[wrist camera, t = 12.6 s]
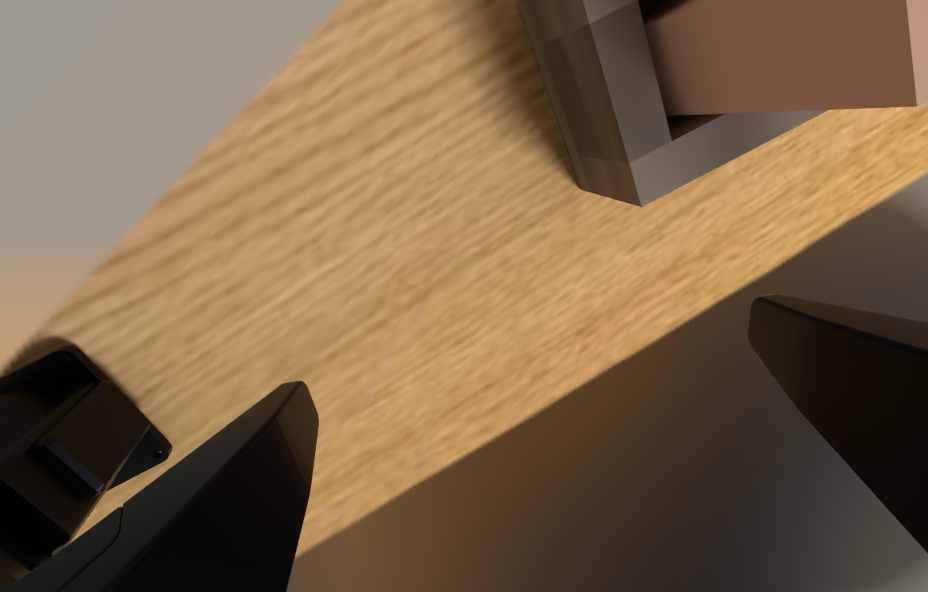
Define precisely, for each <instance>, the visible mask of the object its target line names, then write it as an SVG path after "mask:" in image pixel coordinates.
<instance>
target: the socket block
mask: <svg viewBox="0 0 928 592" xmlns="http://www.w3.org/2000/svg"><path fill="white" fill-rule="evenodd" d="M665 1H666V0H523V1H522V2H521V3H520V4H518V6H519V9H520V12H521V14H522V17H523V20H524V23H525V26H526V29H527V32H528V35H529V38H530V41H531V44H532V47H533V50H534V53H535V56H536V59H537V62H538V65H539V68H540V71H541V74H542V76H543V79H544V82H545V85H546V88H547V91H548V94H549V97H550V100H551V103H552V106H553V109H554V112H555V115H556V118H557V121H558V124H559V127H560V130H561V133H562V136H563V138H564V141H565V144H566V147H567V150H568V153H569V156H570V159H571V162H572V165H573V168H574V171H575V174H576V177H577V180H578V183H579V186H580V189H581V190H584V191H587V192H591V193H594V194H598V195H602V196H605V197H609V198H612V199H616V200H619V201H623V202H626V203H630V204H633V205H637V206H640V207H642V206H644V205H646V204H648V203H650V202H652V201H654V200H656V199H658V198H660V197H662V196H664V195H666V194H668V193H669V192H671V191H673V190H675V189H677V188H679V187H681V186H683V185H685V184H687V183H689V182H691V181H693V180H695V179H696V178H698V177H700V176H702V175H704V174H706V173H708V172H710V171H712V170H714V169H716V168H718V167H720V166H722V165H724V164H725V163H727V162H729V161H731V160H733V159H735V158H737V157H739V156H741V155H743V154H745V153H747V152H749V151H751V150H752V149H754V148H756V147H758V146H760V145H762V144H764V143H766V142H768V141H770V140H772V139H774V138H776V137H778V136H779V135H781V134H783V133H785V132H787V131H789V130H791V129H793V128H795V127H797V126H799V125H801V124H803V123H805V122H807V121H808V120H810V119H812V118H814V117H816V116H818V115H820V114H822V113H824V112H826V111H828V110H807V111H781V112H754V113H727V114H701V115H674V116H666V115H665V111H664V107H663V103H662V99H661V94H660V90H659V86H658V82H657V78H656V74H655V70H654V65H653V61H652V57H651V53H650V49H649V45H648V40H647V36H646V32H645V28H644V24H643V20H642V16H643V15H644V14H646V13H647V12H649V11H651V10H652V9H654V8H655V7H657V6H658V5H660V4H662V3H663V2H665Z"/></svg>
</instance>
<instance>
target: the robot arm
mask: <svg viewBox="0 0 928 592" xmlns="http://www.w3.org/2000/svg"><path fill="white" fill-rule="evenodd" d="M747 334H748V340H749V343H750V345H751V347H752V348H753V349H754V351H755V352H756V354H757V355H758V357H759V358H760V359H761V360H762V362H763V363H764V365H765V366H766V368H767V369H768V370H769V372H770V373H771V374H772V376H773V377H774V378H775V380H776V381H777V382H778V384H779V385H780V387H781V388H782V389H783V391H784V392H785V393H786V395H787V396H788V397H789V399H790V400H791V401H792V403H793V404H794V405H795V406H796V408H797V409H798V410H799V411H800V412H801V413H802V415H803V416H804V417H805V418H806V419H807V420H808V421H809V422H810V424H811V425H812V426H813V427H814V428H815V429H816V430H817V431H818V432H819V433H820V435H821V436H822V437H823V438H824V439H825V440H826V441H827V442H828V444H829V445H830V446H831V447H832V448H833V449H834V450H835V451H836V452H837V453H838V455H839V456H840V457H841V458H842V459H843V460H844V461H845V462H846V463H847V465H848V466H849V467H850V468H851V469H852V470H853V471H854V472H855V473H856V474H857V476H858V477H859V478H860V479H861V480H862V481H863V482H864V483H865V484H866V485H867V487H868V488H869V489H870V490H871V491H872V492H873V493H874V494H875V496H876V497H877V498H878V499H879V500H880V501H881V502H882V503H883V504H884V506H885V507H886V508H887V509H888V510H889V511H890V512H891V513H892V514H893V516H894V517H895V518H896V519H897V520H898V521H899V522H900V523H901V524H902V526H903V527H904V528H905V529H906V530H907V531H908V532H909V533H910V534H911V535H912V537H913V538H914V539H915V540H916V541H917V542H918V543H919V544H920V545H921V546H922V548H923V549H924V550H925V551H926V552H927V553H928V322H924V321H918V320H913V319H908V318H903V317H897V316H891V315H887V314H881V313H875V312H871V311H866V310H860V309H855V308H850V307H845V306H839V305H834V304H828V303H823V302H818V301H813V300H807V299H803V298H797V297H792V296H786V295H782V294H770V295H764V296H759V297H756V298H754V299H753V300H752V302H751V305H750V314H749V323H748V332H747ZM63 356H67V357H69V358H70V359H71V361H72V362H67V361H66V360H64V358H63ZM318 427H319V418H318V413H317V410H316V408H315V405H314V403H313V400H312V397H311V395H310V392H309V390H308V387H307V385H306V384H305V383H304V382H303V381H295V382H289V383H284V384H282V385H280V386H279V387H277V388H276V389H275V390H273V391H272V392H271V393H269V394H268V395H267V396H266V397H264V398H263V399H262V400H260V401H259V402H258V403H256V404H255V405H254V406H252V407H251V408H250V409H248V410H247V411H246V412H244V413H243V414H242V415H240V416H239V417H238V418H236V419H235V420H234V421H232V422H231V423H230V424H228V425H227V426H226V427H224V428H223V429H222V430H220V431H219V432H218V433H216V434H215V435H214V436H213V437H211V438H210V439H209V440H207V441H206V442H205V443H203V444H202V445H201V446H199V447H198V448H197V449H195V450H194V451H193V452H191V453H190V454H189V455H187V456H186V457H185V458H183V459H182V460H181V461H179V462H178V463H177V464H175V465H174V466H173V467H171V468H170V469H169V470H167V471H166V472H165V473H163V474H162V475H161V476H160V477H158V478H157V479H156V480H154V481H153V482H152V483H150V484H149V485H148V486H146V487H145V488H144V489H142V490H141V491H140V492H138V493H137V494H136V495H134V496H133V497H132V498H130V499H129V500H128V501H126V502H125V503H124V504H123V507H118V508H117V509H116V510H114V511H113V512H112V513H110V514H109V515H108V516H106V517H105V518H104V519H102V520H101V521H100V522H98V523H97V524H96V525H94V526H93V527H92V528H90V529H89V530H88V531H86V532H85V533H83V534H82V535H81V536H79V537H78V538H77V539H75V540H74V541H73V542H71V541H72V539H73V538H74V536H75V535H76V534H77V532H78V531H79V529H80V528H81V526H82V525H83V524H84V522H85V521H86V519H87V518H88V516H89V515H90V514H91V512H92V511H93V509H94V508H95V506H96V505H97V504H98V502H99V501H100V499H101V498H102V496H103V495H104V494H105V492H106V491H108V490H110V489H112V488H114V487H116V486H118V485H120V484H122V483H123V482H125V481H127V480H129V479H131V478H133V477H135V476H137V475H139V474H141V473H143V472H145V471H147V470H149V469H150V468H152V467H154V466H156V465H158V464H160V463H162V462H164V461H165V460H167V459H168V457H169V455H170V453H171V451H172V446H171V444H170V443H169V442H168V441H167V440H166V438H165V437H164V436H163V435H162V434H161V433H160V432H159V431H158V430H157V429H156V428H155V427H154V426H153V425H152V424H151V423H150V421H149V420H148V419H147V418H146V417H145V416H144V415H143V414H142V413H141V412H140V411H139V410H138V408H137V407H136V406H135V405H134V404H133V403H132V402H131V401H130V400H129V399H128V398H127V397H126V396H125V395H124V394H123V393H122V392H121V391H120V390H119V389H118V388H117V387H116V386H115V385H114V384H113V383H112V382H110V380H109V379H108V378H107V377H106V376H105V375H104V374H103V373H102V372H101V371H100V370H99V369H98V368H97V367H96V366H95V365H94V364H93V363H92V362H91V361H90V360H89V359H88V358H87V357H86V356H85V355H84V354H83V353H82V351H80V350H79V349H78V348H76V347H73V346H64V347H60V348H58V349H56V350H54V351H53V352H51V353H49V354H47V355H45V356H43V357H41V358H39V359H37V360H35V361H33V362H31V363H29V364H27V365H25V366H23V367H21V368H19V369H17V370H15V371H13V372H11V373H9V374H7V375H5V376H3V377H1V378H0V592H286V591H287V586H288V582H289V578H290V574H291V570H292V566H293V562H294V558H295V554H296V550H297V546H298V541H299V537H300V533H301V529H302V525H303V521H304V517H305V513H306V509H307V504H308V500H309V495H310V489H311V483H312V475H313V467H314V459H315V451H316V443H317V435H318ZM155 449H158V450H161V451H162V453H158V452H156V451H155ZM70 542H71V543H70Z"/></svg>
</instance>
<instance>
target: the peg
mask: <svg viewBox="0 0 928 592" xmlns="http://www.w3.org/2000/svg"><path fill="white" fill-rule="evenodd" d="M642 20H643V24H644V28H645V32H646V36H647V40H648V45H649V49H650V53H651V57H652V61H653V65H654V70H655V74H656V78H657V82H658V86H659V90H660V94H661V99H662V103H663V107H664V111H665V115H666V116H674V115H701V114H727V113H754V112H781V111H807V110H834V109H861V108H887V107H914V106H919V105H920V104H922V103H923V102H925V101H926V100H928V0H666V1H665V2H663V3H662V4H660V5H658V6H657V7H655V8H654V9H652V10H651V11H649V12H647V13H646V14H644V15H643V16H642Z"/></svg>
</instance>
